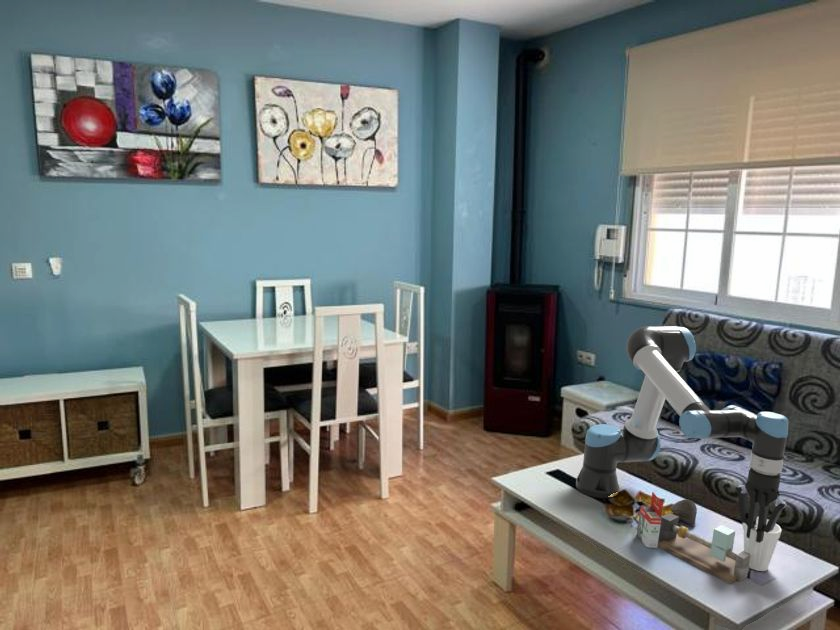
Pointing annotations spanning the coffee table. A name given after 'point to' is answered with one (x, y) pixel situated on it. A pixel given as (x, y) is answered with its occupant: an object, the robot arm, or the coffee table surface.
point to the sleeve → (722, 542)
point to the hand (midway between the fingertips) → (752, 550)
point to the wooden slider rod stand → (700, 551)
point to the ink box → (650, 522)
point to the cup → (762, 547)
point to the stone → (685, 511)
